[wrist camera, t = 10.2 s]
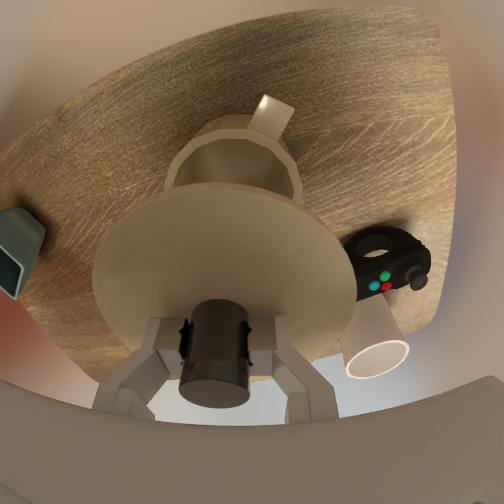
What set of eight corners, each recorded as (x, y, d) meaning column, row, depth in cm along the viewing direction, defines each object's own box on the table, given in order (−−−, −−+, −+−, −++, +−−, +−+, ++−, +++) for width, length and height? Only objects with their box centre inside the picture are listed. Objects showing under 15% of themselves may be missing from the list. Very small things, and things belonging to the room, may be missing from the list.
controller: (405, 236, 33) (441, 287, 25) (319, 269, 36) (336, 329, 28) (401, 209, 31) (442, 257, 22) (309, 244, 34) (327, 304, 25)
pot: (166, 208, 31) (143, 252, 24) (221, 73, 22) (208, 71, 15) (250, 240, 33) (250, 291, 26) (319, 118, 25) (346, 137, 18)
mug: (324, 295, 38) (340, 356, 30) (382, 274, 36) (410, 330, 28) (338, 337, 44) (351, 390, 36) (387, 319, 42) (407, 370, 34)
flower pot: (7, 229, 31) (-26, 264, 24) (18, 189, 28) (-22, 223, 20) (44, 262, 35) (15, 302, 28) (59, 226, 31) (24, 267, 24)
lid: (96, 327, 14) (70, 398, 10) (129, 128, 8) (44, 183, 4) (274, 380, 17) (277, 447, 13) (398, 247, 11) (449, 332, 7)
